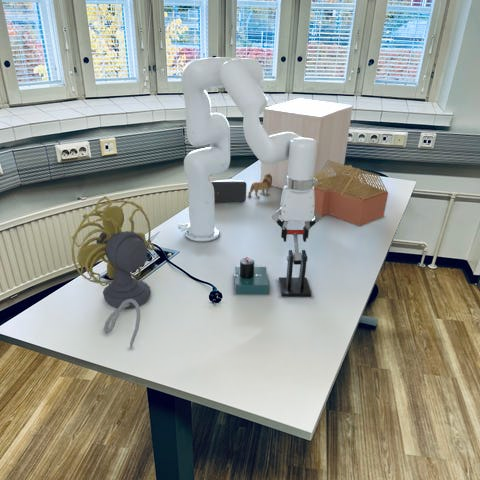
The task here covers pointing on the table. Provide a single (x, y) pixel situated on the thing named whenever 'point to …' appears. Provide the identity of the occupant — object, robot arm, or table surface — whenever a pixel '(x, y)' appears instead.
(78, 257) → the electric fan
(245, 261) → the knob
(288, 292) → the black upright frame
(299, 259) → the toaster lever
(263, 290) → the dial panel
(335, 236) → the table surface
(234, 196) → the leaning round-cornered charcoal block
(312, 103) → the cabinet
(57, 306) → the table surface
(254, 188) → the lion figurine
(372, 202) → the house
